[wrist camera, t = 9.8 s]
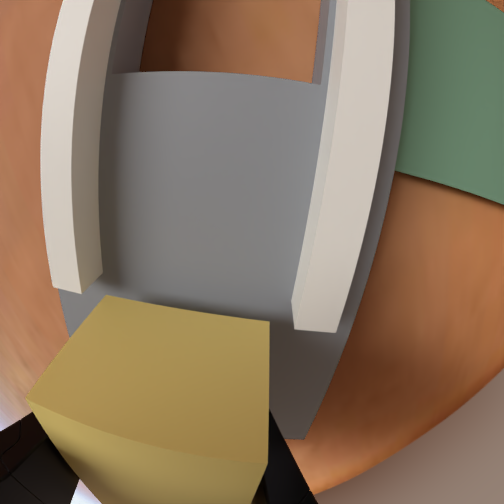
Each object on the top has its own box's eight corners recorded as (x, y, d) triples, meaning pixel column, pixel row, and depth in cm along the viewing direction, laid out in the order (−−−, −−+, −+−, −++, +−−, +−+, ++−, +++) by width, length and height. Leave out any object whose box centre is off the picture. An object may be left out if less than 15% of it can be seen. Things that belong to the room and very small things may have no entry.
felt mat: (399, -36, 6) (404, -42, 6) (543, 52, 6) (551, 51, 6) (384, 167, 10) (391, 169, 9) (530, 215, 10) (538, 219, 9)
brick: (106, 294, 8) (24, 397, 4) (269, 321, 8) (268, 463, 4) (133, 424, 11) (103, 505, 7) (243, 445, 11) (235, 535, 7)
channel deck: (131, -86, 5) (101, -121, 2) (385, -74, 5) (412, -113, 2) (104, 376, 14) (79, 421, 11) (301, 410, 14) (305, 463, 11)
